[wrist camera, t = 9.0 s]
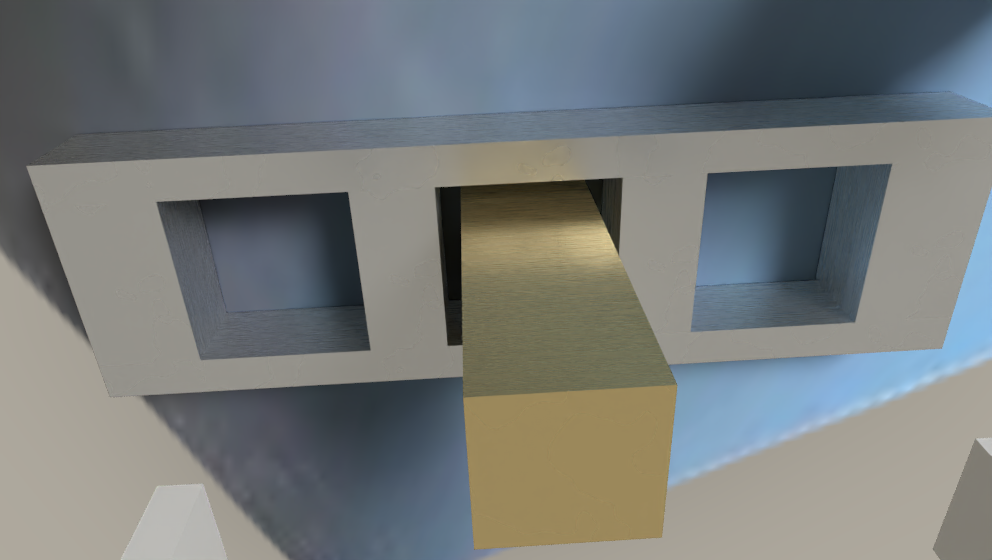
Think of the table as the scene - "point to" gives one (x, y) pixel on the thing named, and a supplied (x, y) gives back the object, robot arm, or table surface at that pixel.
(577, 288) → the brass peg
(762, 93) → the table surface
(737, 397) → the table surface
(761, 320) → the white holed flat block
